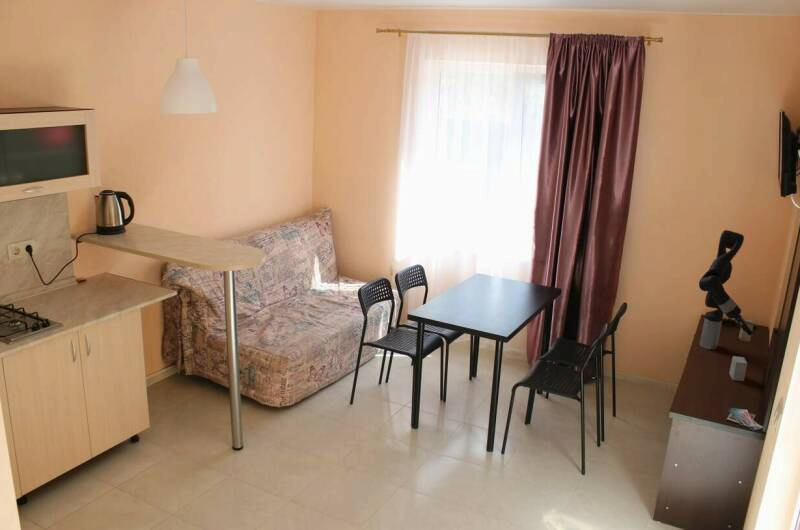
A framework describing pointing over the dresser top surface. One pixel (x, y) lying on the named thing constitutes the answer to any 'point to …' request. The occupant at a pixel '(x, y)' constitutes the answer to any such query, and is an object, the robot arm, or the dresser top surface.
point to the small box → (738, 368)
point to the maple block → (743, 334)
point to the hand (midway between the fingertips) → (749, 332)
